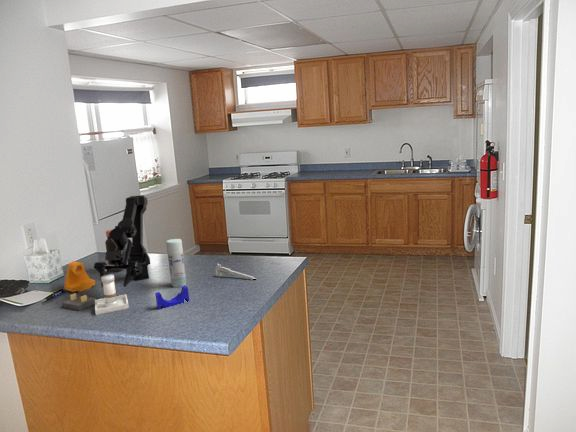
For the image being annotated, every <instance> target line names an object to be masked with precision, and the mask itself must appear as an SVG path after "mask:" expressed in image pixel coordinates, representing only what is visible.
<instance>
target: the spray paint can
mask: <svg viewBox="0 0 576 432" xmlns="http://www.w3.org/2000/svg"><path fill="white" fill-rule="evenodd" d="M165 244H166V252H167V259H168V268H169V274H170V283H171V287H172V286H173V287H172V288H182V287H181V286H184V285H185V286H186V285H187V276H186V269H185V258H184V249H183V241H182V239H181V238H171V239H168V240H166V241H165Z"/></svg>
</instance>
